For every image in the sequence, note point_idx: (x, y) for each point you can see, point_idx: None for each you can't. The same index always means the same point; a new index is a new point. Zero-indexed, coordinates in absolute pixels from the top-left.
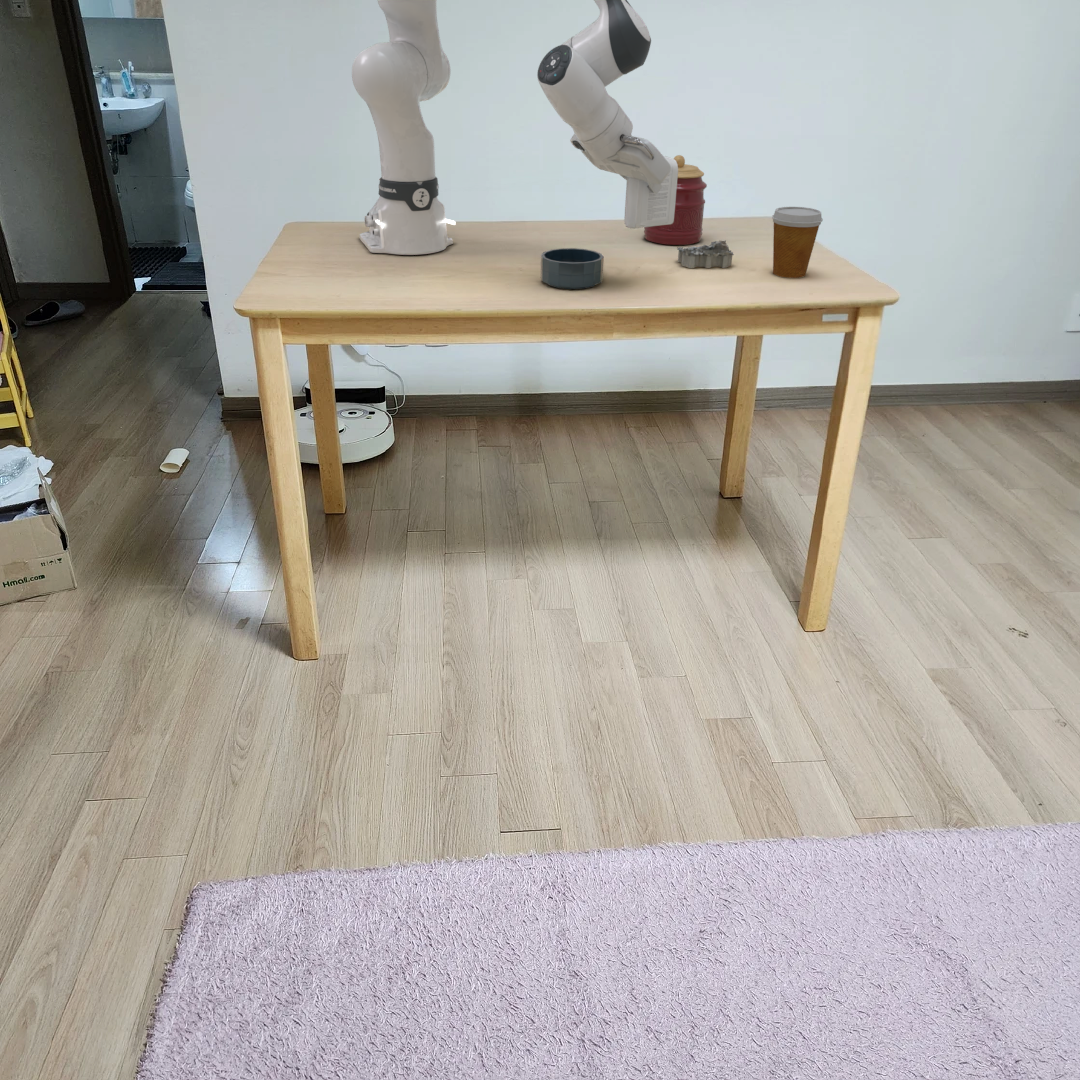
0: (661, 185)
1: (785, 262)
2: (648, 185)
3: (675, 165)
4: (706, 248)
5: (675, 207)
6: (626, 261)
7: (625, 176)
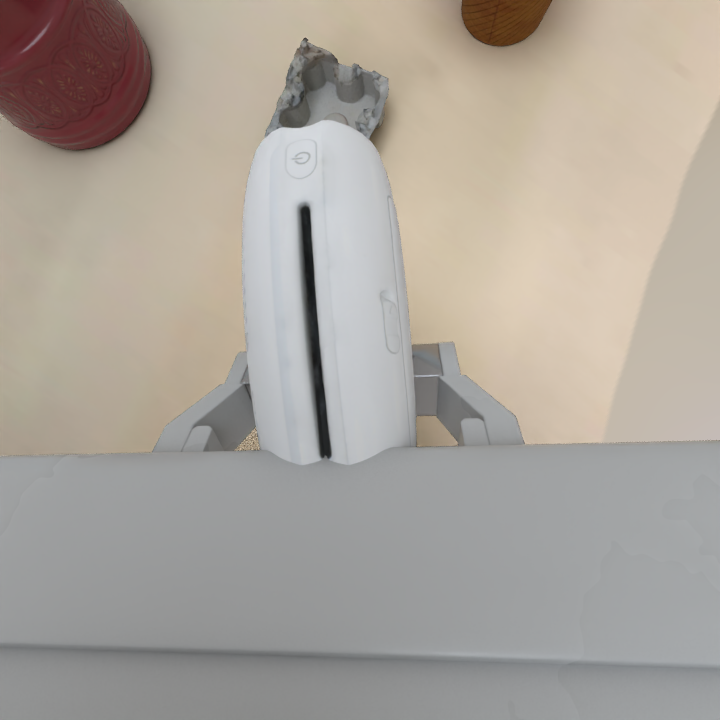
0: (453, 343)
1: (539, 6)
2: (417, 409)
3: (377, 161)
4: (294, 106)
5: (57, 35)
6: (217, 313)
7: (227, 450)
